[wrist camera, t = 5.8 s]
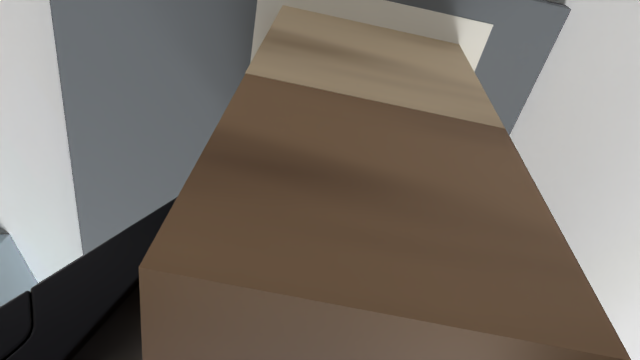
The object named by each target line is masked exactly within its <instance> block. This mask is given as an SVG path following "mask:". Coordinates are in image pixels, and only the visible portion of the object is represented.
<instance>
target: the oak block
mask: <svg viewBox="0 0 640 360" xmlns="http://www.w3.org/2000/svg"><path fill="white" fill-rule="evenodd" d="M245 74H249V75H254V76H258V77H263V78H268V79H272V80H277V81H282V82H287V83H291V84H296V85H301V86H305V87H310V88H315V89H319V90H324V91H329V92H334V93H338V94H343V95H348V96H352V97H357V98H362V99H367V100H371V101H376V102H381V103H385V104H390V105H395V106H400V107H404V108H409V109H414V110H418V111H423V112H428V113H433V114H437V115H442V116H447V117H451V118H456V119H461V120H466V121H470V122H475V123H480V124H484V125H489V126H494V127H499V128H503V129H505V127H504V126H503V124H502V122H501V120H500V118H499V116H498V115H497V113H496V111H495V109H494V107H493V105H492V104H491V102H490V100H489V98H488V96H487V94H486V92H485V91H484V89H483V87H482V85H481V83H480V81H479V80H478V78H477V76H476V74H475V72H474V70H473V69H472V67H471V65H470V63H469V61H468V59H467V58H466V56H465V54H464V52H463V50H462V48H461V47H460V45H459V44H456V43H451V42H447V41H442V40H438V39H433V38H429V37H424V36H420V35H415V34H411V33H406V32H402V31H397V30H393V29H388V28H384V27H379V26H375V25H370V24H366V23H361V22H357V21H352V20H348V19H343V18H339V17H334V16H330V15H325V14H321V13H316V12H312V11H307V10H303V9H298V8H294V7H289V6H285V5H283V6H282V7H281V9H280V11H279V13H278V15H277V16H276V18H275V20H274V22H273V24H272V25H271V27H270V29H269V31H268V33H267V34H266V36H265V38H264V40H263V42H262V43H261V45H260V47H259V49H258V50H257V52H256V54H255V56H254V58H253V59H252V61H251V63H250V65H249V67H248V68H247V70H246V72H245Z"/></svg>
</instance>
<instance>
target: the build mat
mask: <svg viewBox="0 0 640 360" xmlns="http://www.w3.org/2000/svg"><path fill="white" fill-rule="evenodd" d="M283 5H285V6H289V7H294V8H298V9H303V10H307V11H312V12H316V13H321V14H325V15H330V16H334V17H339V18H343V19H348V20H352V21H357V22H361V23H366V24H370V25H375V26H379V27H384V28H388V29H393V30H397V31H402V32H406V33H411V34H415V35H420V36H424V37H429V38H433V39H438V40H442V41H447V42H451V43H456V44H459V45H460V47H461V48H462V50H463V52H464V54H465V56H466V58H467V59H468V61H469V63H470V65H471V67H472V69H473V70H474V72H475V74H476V76H477V78H478V80H479V81H480V83H481V85H482V87H483V89H484V91H485V92H486V94H487V96H488V98H489V100H490V102H491V104H492V105H493V107H494V109H495V111H496V113H497V115H498V116H499V118H500V120H501V122H502V124H503V126H504V127H505V129H506V131H507V133H508V135H510V133H511V131H512V129H513V127H514V125H515V123H516V121H517V119H518V117H519V115H520V112H521V110H522V108H523V106H524V104H525V102H526V100H527V98H528V96H529V94H530V92H531V90H532V88H533V86H534V84H535V82H536V80H537V78H538V76H539V74H540V72H541V70H542V68H543V66H544V64H545V62H546V60H547V58H548V55H549V53H550V51H551V49H552V47H553V45H554V43H555V41H556V39H557V37H558V35H559V33H560V31H561V29H562V27H563V25H564V23H565V21H566V19H567V17H568V15H569V13H570V11H571V9H570V8H569V7H567V6H566V5H562V4H557V3H553V2H548V1H544V0H50V6H51V14H52V22H53V29H54V37H55V44H56V52H57V60H58V67H59V75H60V82H61V90H62V98H63V105H64V113H65V120H66V128H67V136H68V143H69V151H70V158H71V166H72V174H73V181H74V189H75V196H76V204H77V212H78V219H79V227H80V234H81V242H82V250H83V255H84V254H86V253H88V252H89V251H91V250H93V249H94V248H96V247H97V246H99V245H101V244H102V243H104V242H105V241H107V240H109V239H110V238H112V237H113V236H115V235H117V234H118V233H120V232H121V231H123V230H125V229H126V228H128V227H129V226H131V225H133V224H134V223H136V222H138V221H139V220H141V219H142V218H144V217H146V216H147V215H149V214H150V213H152V212H154V211H155V210H157V209H158V208H160V207H162V206H163V205H165V204H166V203H168V202H170V201H171V200H173V199H174V198H176V197H178V195H179V193H180V191H181V190H182V188H183V186H184V184H185V182H186V180H187V179H188V177H189V175H190V173H191V171H192V170H193V168H194V166H195V164H196V162H197V161H198V159H199V157H200V155H201V153H202V152H203V150H204V148H205V146H206V144H207V142H208V141H209V139H210V137H211V135H212V133H213V132H214V130H215V128H216V126H217V124H218V123H219V121H220V119H221V117H222V115H223V114H224V112H225V110H226V108H227V106H228V104H229V103H230V101H231V99H232V97H233V95H234V94H235V92H236V90H237V88H238V86H239V85H240V83H241V81H242V79H243V77H244V75H245V72H246V70H247V68H248V67H249V65H250V63H251V61H252V59H253V58H254V56H255V54H256V52H257V50H258V49H259V47H260V45H261V43H262V42H263V40H264V38H265V36H266V34H267V33H268V31H269V29H270V27H271V25H272V24H273V22H274V20H275V18H276V16H277V15H278V13H279V11H280V9H281V7H282V6H283Z"/></svg>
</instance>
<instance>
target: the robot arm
mask: <svg viewBox="0 0 640 360" xmlns="http://www.w3.org/2000/svg"><path fill="white" fill-rule="evenodd" d="M176 199H177V197H176V198H174V199H173V200H171V201H170V202H168V203H166V204H165V205H163V206H162V207H160V208H158V209H157V210H155V211H154V212H152V213H150V214H149V215H147V216H146V217H144V218H142V219H141V220H139V221H138V222H136V223H134V224H133V225H131V226H129V227H128V228H126V229H125V230H123V231H121V232H120V233H118V234H117V235H115V236H113V237H112V238H110V239H109V240H107V241H105V242H104V243H102V244H101V245H99V246H97V247H96V248H94V249H93V250H91V251H89V252H88V253H86V254H84V255H83V256H81V257H80V258H78V259H76V260H75V261H73V262H72V263H70V264H68V265H67V266H65V267H64V268H62V269H60V270H59V271H57V272H56V273H54V274H52V275H51V276H49V277H48V278H46V279H44V280H43V281H41V282H40V283H38V284H36V285H35V286H33V287H32V288H31V292H30V291H25V292H23V293H22V294H20V295H18V296H17V297H15V298H13V299H12V300H10V301H9V302H7V303H5V304H4V305H2V306H0V360H142V338H141V314H140V289H139V266H140V264H141V262H142V260H143V258H144V256H145V255H146V253H147V251H148V249H149V247H150V246H151V244H152V242H153V240H154V238H155V237H156V235H157V233H158V231H159V229H160V228H161V226H162V224H163V222H164V220H165V218H166V217H167V215H168V213H169V211H170V209H171V208H172V206H173V204H174V202H175V200H176Z"/></svg>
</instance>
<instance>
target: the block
mask: <svg viewBox="0 0 640 360" xmlns="http://www.w3.org/2000/svg"><path fill="white" fill-rule="evenodd" d="M36 284H38V283H37V281H36V279H35V277H34V276H33V274H32V272H31V270H30V269H29V267H28V265H27V263H26V262H25V260H24V258H23V256H22V255H21V253H20V251H19V249H18V248H17V246H16V244H15V242H14V241H13V239H12V237H11V235H10V234H0V306H2V305H4V304H5V303H7V302H9V301H10V300H12V299H13V298H15V297H17V296H18V295H20V294H22V293H23V292H25V291H30V292H31V288H32V287H33V286H35V285H36Z"/></svg>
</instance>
